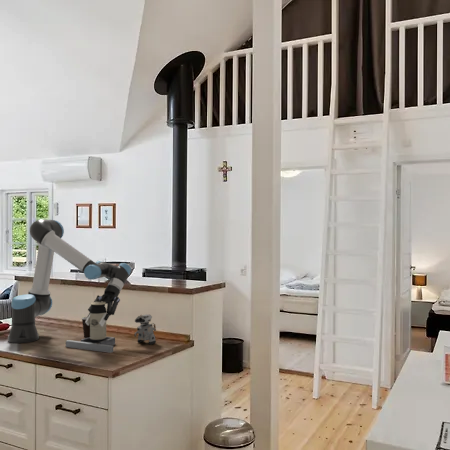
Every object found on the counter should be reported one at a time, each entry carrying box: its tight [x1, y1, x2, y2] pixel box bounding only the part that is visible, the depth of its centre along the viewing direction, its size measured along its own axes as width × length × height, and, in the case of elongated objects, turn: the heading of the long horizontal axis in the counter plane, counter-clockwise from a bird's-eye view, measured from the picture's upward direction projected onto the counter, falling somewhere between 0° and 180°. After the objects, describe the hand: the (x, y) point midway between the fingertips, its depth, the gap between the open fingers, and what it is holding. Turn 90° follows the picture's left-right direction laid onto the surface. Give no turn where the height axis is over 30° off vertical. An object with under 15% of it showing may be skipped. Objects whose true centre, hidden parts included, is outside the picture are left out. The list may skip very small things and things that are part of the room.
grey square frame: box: [80, 336, 116, 346], centre depth 252 cm, size 12×12×4 cm
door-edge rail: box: [65, 339, 114, 354], centre depth 245 cm, size 28×2×3 cm, turn 65°
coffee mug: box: [81, 316, 90, 338], centre depth 276 cm, size 12×9×10 cm
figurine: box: [134, 314, 157, 346], centre depth 257 cm, size 9×12×15 cm
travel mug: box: [89, 301, 107, 340], centre depth 252 cm, size 8×8×18 cm
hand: (93, 324), depth 249 cm, fingers closed on travel mug, 8 cm apart
